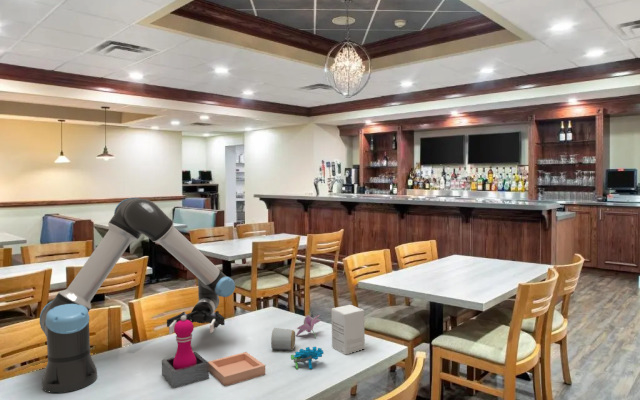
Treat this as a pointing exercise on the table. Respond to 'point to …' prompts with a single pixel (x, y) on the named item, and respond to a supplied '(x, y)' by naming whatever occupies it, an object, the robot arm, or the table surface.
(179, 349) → the pepper mill
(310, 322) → the lily
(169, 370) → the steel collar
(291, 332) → the ceramic mug
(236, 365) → the terracotta tray
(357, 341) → the supplement box
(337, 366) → the table surface
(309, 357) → the blue bumpy piece
